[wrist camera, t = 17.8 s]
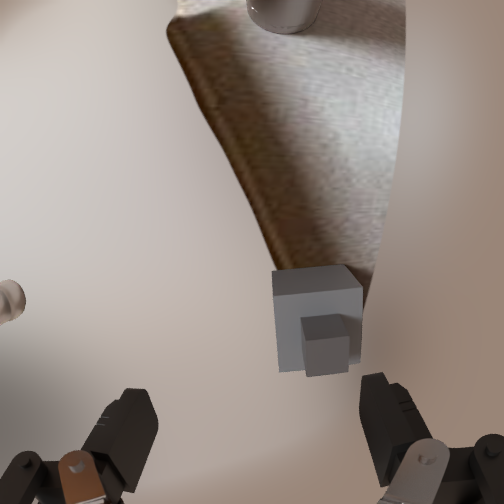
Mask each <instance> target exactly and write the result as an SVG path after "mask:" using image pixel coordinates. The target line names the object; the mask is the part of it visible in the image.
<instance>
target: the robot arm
mask: <svg viewBox="0 0 504 504" xmlns="http://www.w3.org/2000/svg"><path fill="white" fill-rule="evenodd" d="M246 2H247V9H248V13H249V15H250V17H251V19H252V20H253V21H254V22H255V23H256V24H257V25H258V26H260V27H262V28H263V29H265V30H268V31H271V32H274V33H280V34H289V33H296V32H299V31H302V30H304V29H306V28H308V27H309V26H310V25H311V24H312V23H313V22H314V20H315V19H316V16H317V14H318V11H319V7H320V4H321V2H322V0H246ZM359 414H360V420H361V424H362V427H363V430H364V433H365V437H366V440H367V443H368V446H369V450H370V453H371V456H372V459H373V463H374V466H375V470H376V473H377V476H378V480H379V483H380V487H385V486H389V487H388V489H387V491H386V493H385V494H384V496H383V498H382V499H380V500H379V501H378V503H377V504H504V436H502V435H498V434H488V435H485V436H483V437H481V438H480V439H479V440H478V441H477V442H476V444H475V446H474V447H465V448H448V447H447V446H446V445H445V444H444V443H443V442H441V441H439V440H436V439H433V438H432V436H431V434H430V432H429V430H428V428H427V426H426V424H425V422H424V420H423V418H422V417H421V415H420V413H419V411H418V409H417V408H416V405H415V404H414V402H413V401H412V398H411V396H410V395H409V392H408V391H407V389H405V388H404V387H402V386H401V385H400V384H398V383H394V384H389V383H388V381H387V379H386V377H385V375H384V373H383V372H380V373H375V374H370V375H364V376H362V380H361V392H360V403H359ZM157 431H158V418H157V415H156V413H155V410H154V408H153V405H152V402H151V400H150V397H149V395H148V392H147V391H146V390H145V389H133V388H127V389H126V390H124V392H123V394H122V395H121V397H120V399H119V400H114V401H113V402H112V403H111V404H109V405H108V406H107V407H106V409H105V410H104V412H103V413H102V415H101V418H99V420H98V421H97V425H95V426H94V428H93V430H92V432H91V433H90V435H89V436H88V438H87V440H86V441H85V443H84V445H83V447H82V448H81V450H75V451H71V452H69V453H67V454H65V455H64V456H63V457H62V458H61V459H60V461H42V459H41V458H40V457H39V455H38V454H37V453H35V452H33V451H25V452H21V453H19V454H18V455H16V456H15V457H14V459H13V460H12V462H11V463H10V465H9V466H8V468H7V469H6V471H5V472H4V474H3V476H2V477H1V479H0V504H32V502H33V500H34V498H36V499H37V500H38V501H39V502H38V504H124V502H123V500H122V498H121V495H122V492H123V491H126V492H130V493H134V492H135V489H136V487H137V484H138V481H139V479H140V476H141V474H142V471H143V468H144V466H145V463H146V460H147V458H148V455H149V453H150V450H151V447H152V445H153V442H154V440H155V437H156V434H157Z"/></svg>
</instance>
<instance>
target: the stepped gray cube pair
mask: <svg viewBox="0 0 504 504" xmlns="http://www.w3.org/2000/svg"><path fill="white" fill-rule="evenodd" d="M272 287H273V302H274V314H275V325H276V338H277V351H278V363H279V372H288V371H300V370H305V371H306V376H307V377H312V376H321V375H329V374H337V373H344V372H348V365H350V364H356V363H360V358H361V340H362V313H363V287H362V285H361V284H360V283H359V282H358V281H357V279H356V278H355V277H354V276H353V275H352V273H351V272H350V271H349V270H348V269H347V267H346V266H345V265H344V264H341V265H331V266H320V267H310V268H299V269H288V270H277V271H272Z"/></svg>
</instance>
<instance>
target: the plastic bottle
mask: <svg viewBox="0 0 504 504" xmlns="http://www.w3.org/2000/svg"><path fill="white" fill-rule="evenodd" d="M25 304H26V298H25V294H24V291H23V289H22V288H21V286H20V285H19V284H18V283H16V282H15V281H13V280H5V281H1V282H0V325H2V324H3V323H5V322H7V321H11V320H14V319H16V318H18V317H19V316H20V315H21V314H22V313H23V311H24V309H25Z"/></svg>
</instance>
